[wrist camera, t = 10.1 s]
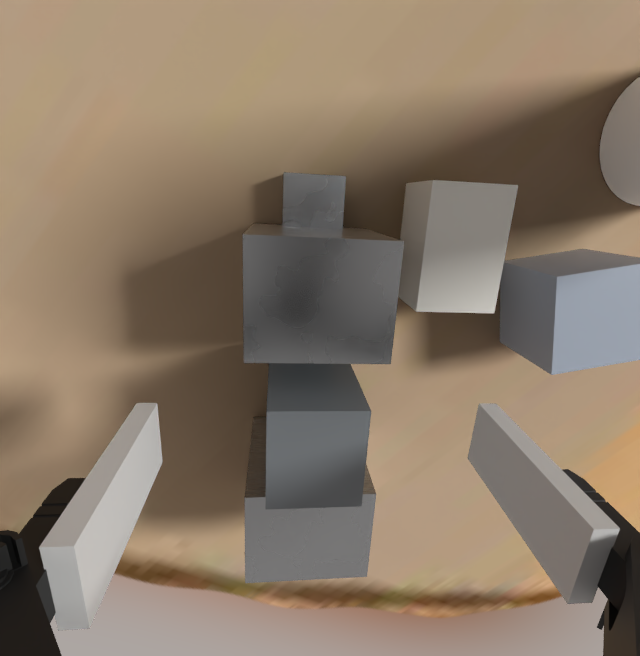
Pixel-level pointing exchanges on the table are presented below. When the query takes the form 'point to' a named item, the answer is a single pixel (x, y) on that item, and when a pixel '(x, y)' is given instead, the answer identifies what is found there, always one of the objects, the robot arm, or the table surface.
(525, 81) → the table surface
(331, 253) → the grey stepped block assembly
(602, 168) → the cylindrical container
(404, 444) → the table surface
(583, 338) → the loose block slate
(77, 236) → the table surface
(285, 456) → the block
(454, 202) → the loose block white
